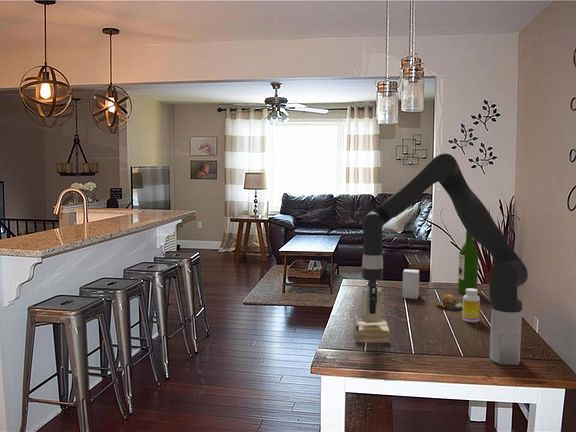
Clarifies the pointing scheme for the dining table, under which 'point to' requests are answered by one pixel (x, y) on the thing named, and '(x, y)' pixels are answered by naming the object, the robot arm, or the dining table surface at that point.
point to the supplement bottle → (471, 306)
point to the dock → (371, 331)
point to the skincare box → (366, 307)
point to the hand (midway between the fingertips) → (371, 310)
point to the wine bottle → (468, 266)
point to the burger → (450, 303)
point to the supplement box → (410, 284)
